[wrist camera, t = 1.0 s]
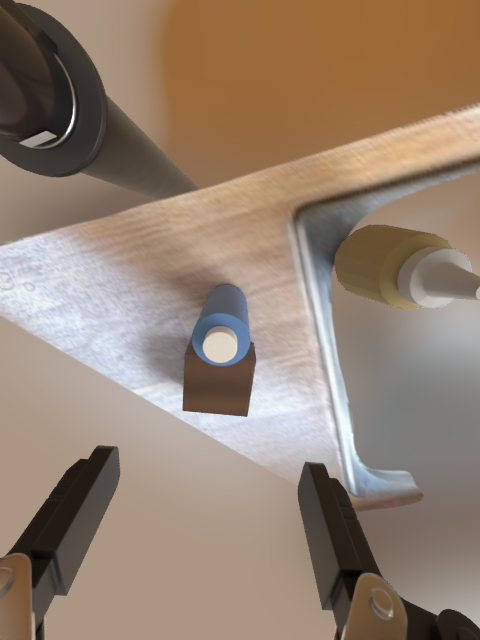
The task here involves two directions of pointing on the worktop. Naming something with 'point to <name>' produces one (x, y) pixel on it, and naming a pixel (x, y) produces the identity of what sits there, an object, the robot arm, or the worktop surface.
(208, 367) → the walnut block
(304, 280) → the worktop surface
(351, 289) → the squeeze bottle
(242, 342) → the blue bottle
